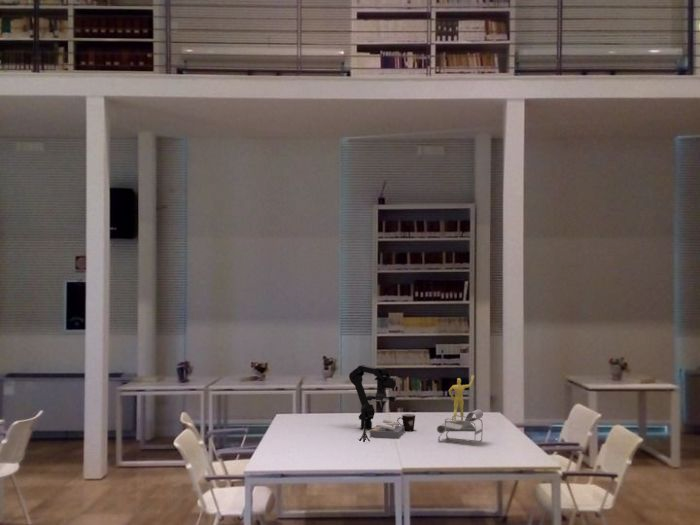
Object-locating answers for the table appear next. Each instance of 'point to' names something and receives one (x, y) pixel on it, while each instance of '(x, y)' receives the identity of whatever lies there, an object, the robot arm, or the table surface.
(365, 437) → the eiffel tower figurine
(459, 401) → the statue
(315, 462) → the table surface
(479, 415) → the chair
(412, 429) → the coffee mug
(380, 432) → the console
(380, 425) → the rocker
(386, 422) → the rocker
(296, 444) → the table surface
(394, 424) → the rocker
